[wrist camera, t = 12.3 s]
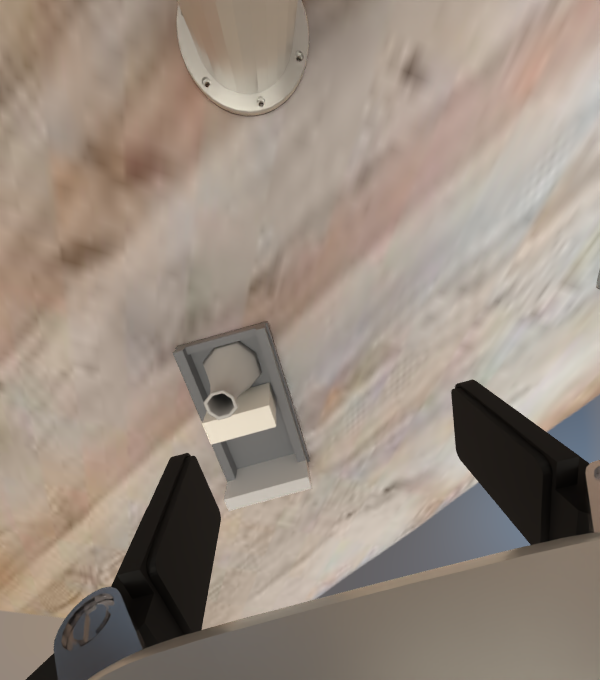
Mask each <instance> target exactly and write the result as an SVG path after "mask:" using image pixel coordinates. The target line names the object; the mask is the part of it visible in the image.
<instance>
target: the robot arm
mask: <svg viewBox="0 0 600 680" xmlns="http://www.w3.org/2000/svg"><path fill="white" fill-rule="evenodd" d="M177 2H178V7H177V19H176V25H177V38H178V42H179V47H180V51H181V55H182V57H183V60H184V62H185V65H186V67H187V69H188V71H189V73H190V75H191V77H192V79H193V80H194V82H195V83H196V84H197V86H198V87H199V89H200V90H201V91H202V92H203V93H204V94H205V95H206V96H207V97H208V98H209V99H210V100H211V101H212V102H214V103H215V104H216V105H218V106H219V107H221V108H223V109H225V110H227V111H229V112H231V113H235V114H240V115H253V116H255V115H260V114H264V113H267V112H270V111H272V110H274V109H276V108H277V107H279V106H280V105H281V104H283V103H284V102H285V101H286V100H287V99H288V98H289V97H290V96H291V95H292V93H293V92H294V91H295V89H296V87H297V86H298V84H299V82H300V80H301V78H302V75H303V72H304V70H305V66H306V62H307V57H308V48H309V26H308V20H307V15H306V10H305V8H304V5H303V2H302V0H177ZM296 59H300V60H301V62H298V61H297V60H296ZM206 84H210V86H209V87H205V86H206ZM260 102H261V103H263V104H264V105H263V106H262V107H260V106H259V103H260ZM451 394H452V406H453V418H454V431H455V443H456V451H457V454H458V457H459V458H460V460H461V461H462V462H463V464H464V465H465V466H466V467H467V468H468V470H469V471H470V472H471V473H472V474H473V476H474V477H475V478H476V479H477V480H478V482H479V483H480V484H481V485H482V487H483V488H484V489H485V490H486V491H487V493H488V494H489V495H490V496H491V497H492V499H493V500H494V501H495V502H496V503H497V504H498V505H499V507H500V508H501V509H502V510H503V512H504V513H505V514H506V515H507V517H508V518H509V519H510V520H511V521H512V523H513V524H514V525H515V526H516V527H517V529H518V530H519V531H520V532H521V533H522V535H523V536H524V537H525V538H526V539H527V541H528V542H529V543H530V544H531V545H530V546H525V547H521V548H517V549H512V550H508V551H504V552H500V553H496V554H492V555H488V556H484V557H480V558H476V559H472V560H468V561H464V562H460V563H456V564H452V565H448V566H444V567H440V568H436V569H432V570H428V571H424V572H420V573H416V574H413V575H408V576H405V577H401V578H397V579H393V580H389V581H385V582H381V583H377V584H373V585H370V586H366V587H362V588H358V589H354V590H350V591H346V592H342V593H339V594H335V595H331V596H327V597H323V598H319V599H315V600H312V601H308V602H304V603H300V604H297V605H293V606H289V607H285V608H281V609H278V610H274V611H270V612H266V613H262V614H259V615H255V616H251V617H247V618H244V619H240V620H236V621H232V622H229V623H225V624H222V625H218V626H215V627H211V628H208V629H204V630H201V629H202V623H203V617H204V612H205V606H206V601H207V595H208V589H209V584H210V578H211V573H212V567H213V561H214V556H215V550H216V545H217V539H218V533H219V528H220V522H221V516H220V511H219V508H218V506H217V504H216V502H215V499H214V497H213V495H212V493H211V490H210V488H209V486H208V484H207V481H206V479H205V477H204V474H203V472H202V470H201V468H200V465H199V463H198V461H197V459H196V457H195V456H191V455H190V454H189V453H185V454H182V455H178V456H174V457H171V458H170V460H169V462H168V464H167V466H166V468H165V471H164V473H163V475H162V477H161V479H160V482H159V484H158V486H157V488H156V490H155V493H154V495H153V497H152V499H151V501H150V504H149V506H148V508H147V509H146V511H145V514H144V516H143V518H142V520H141V522H140V525H139V527H138V529H137V531H136V533H135V536H134V538H133V540H132V542H131V544H130V547H129V549H128V551H127V553H126V555H125V558H124V560H123V562H122V564H121V566H120V568H119V571H118V573H117V575H116V577H115V579H114V582H113V584H112V586H111V587H105V588H101V589H99V590H97V591H95V592H93V593H91V594H90V595H88V596H87V597H86V598H84V599H83V600H82V601H81V602H80V603H79V604H77V605H76V606H75V607H74V608H73V610H72V611H71V612H70V613H69V614H68V616H67V617H66V618H65V620H64V621H63V623H62V625H61V626H60V628H59V630H58V633H57V635H56V638H55V640H54V654H53V655H51V656H50V657H49V658H48V659H47V660H46V661H45V662H44V663H43V664H42V665H41V666H40V667H39V668H38V669H37V670H35V671H34V672H33V673H32V674H31V675H30V676H29V677H28V678H27V679H26V680H600V460H598V461H595V462H592V463H590V464H589V463H588V462H587V461H585V460H584V459H582V458H581V457H580V456H579V455H577V454H576V453H574V452H573V451H572V450H570V449H569V448H568V447H566V446H564V445H563V444H562V443H561V442H559V441H558V440H557V439H555V438H554V437H552V436H551V435H550V434H548V433H547V432H545V431H544V430H543V429H541V428H540V427H539V426H537V425H536V424H534V423H533V422H532V421H530V420H529V419H528V418H526V417H525V416H523V415H522V414H521V413H519V412H518V411H517V410H515V409H514V408H512V407H511V406H510V405H508V404H507V403H506V402H504V401H503V400H501V399H500V398H499V397H497V396H496V395H495V394H493V393H492V392H490V391H489V390H488V389H486V388H485V387H483V386H482V385H481V384H479V383H478V382H477V381H475V380H469V381H466V382H462V383H458V384H456V386H455V389H452V392H451Z"/></svg>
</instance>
